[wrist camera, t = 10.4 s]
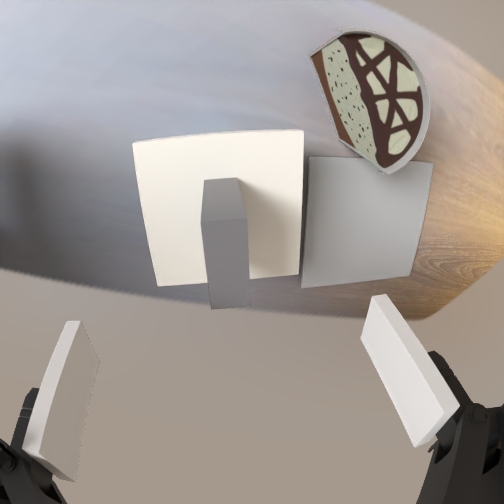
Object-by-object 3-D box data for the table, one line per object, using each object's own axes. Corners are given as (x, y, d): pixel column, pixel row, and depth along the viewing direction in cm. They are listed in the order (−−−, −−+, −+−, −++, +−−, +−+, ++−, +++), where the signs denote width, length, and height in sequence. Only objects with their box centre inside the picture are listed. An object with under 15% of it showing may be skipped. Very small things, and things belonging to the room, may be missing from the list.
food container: (389, 136, 30) (446, 159, 21) (341, 152, 30) (389, 181, 22) (356, 29, 24) (411, 14, 15) (302, 42, 24) (342, 24, 16)
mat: (300, 285, 38) (301, 288, 38) (309, 156, 30) (310, 157, 30) (407, 273, 40) (409, 275, 39) (431, 162, 32) (433, 163, 31)
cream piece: (159, 280, 28) (145, 350, 21) (135, 141, 22) (95, 170, 14) (296, 268, 30) (323, 334, 22) (300, 129, 23) (344, 152, 15)
